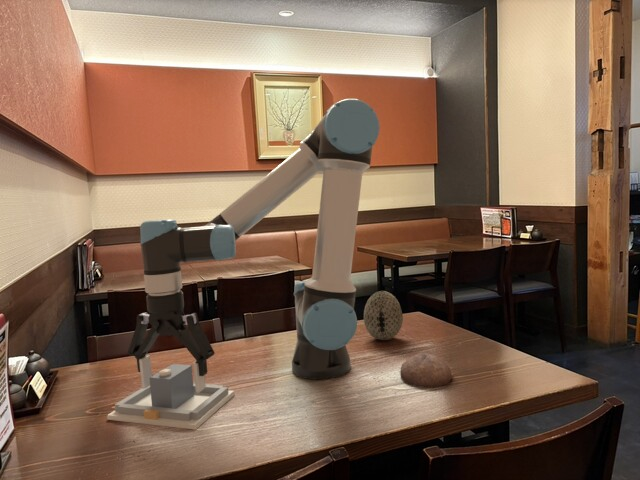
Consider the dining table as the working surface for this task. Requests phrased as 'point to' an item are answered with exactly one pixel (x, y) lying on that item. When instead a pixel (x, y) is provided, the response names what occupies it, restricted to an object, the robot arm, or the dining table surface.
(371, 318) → the decorative egg
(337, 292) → the robot arm
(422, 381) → the brown dome
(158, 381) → the block
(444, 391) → the dining table surface
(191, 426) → the board
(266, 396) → the dining table surface
